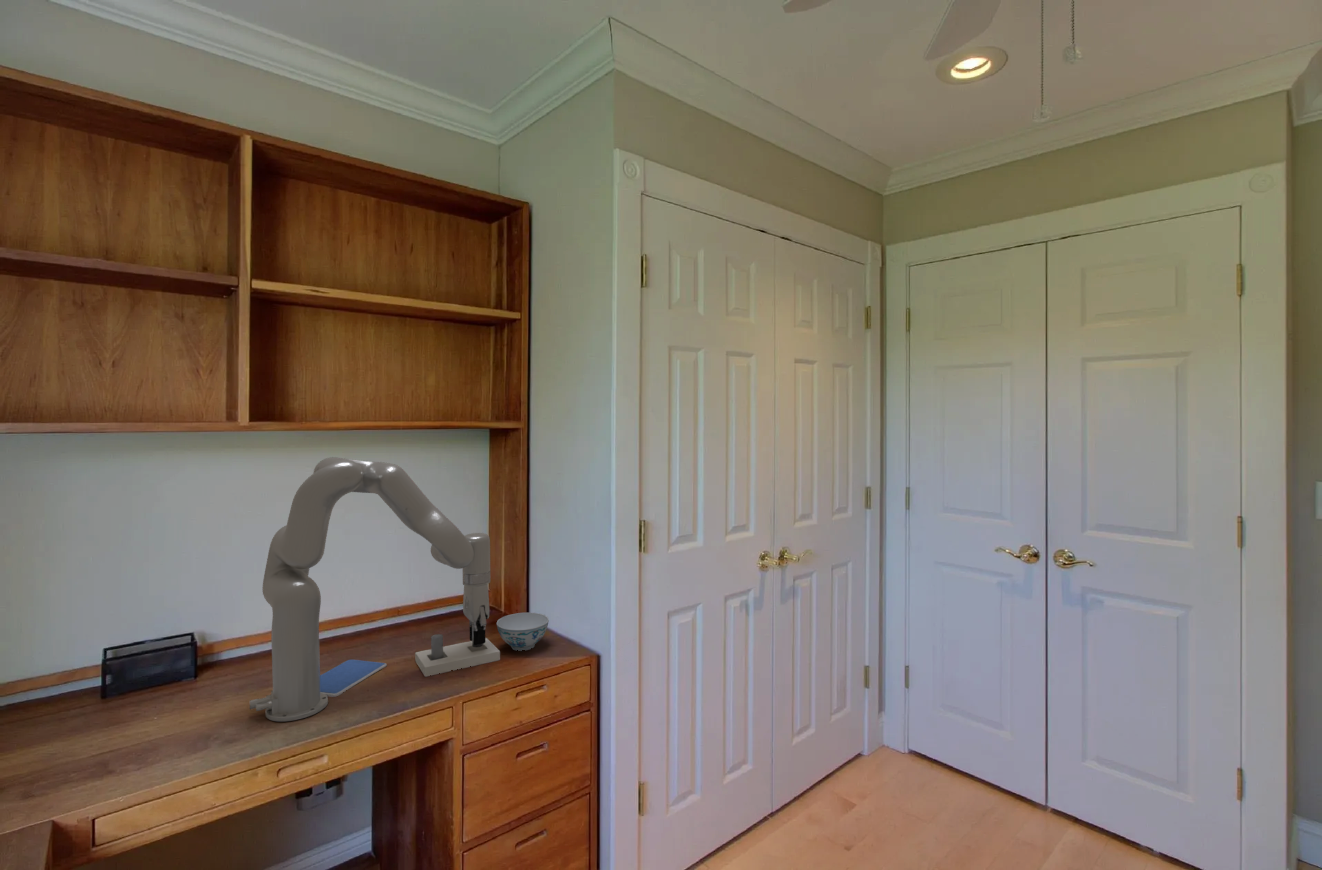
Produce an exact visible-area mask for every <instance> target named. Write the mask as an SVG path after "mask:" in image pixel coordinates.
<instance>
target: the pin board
mask: <svg viewBox="0 0 1322 870" xmlns="http://www.w3.org/2000/svg"><path fill="white" fill-rule="evenodd" d="M430 639H431V640H430V645H431V648H430V649H425V650H421V651H416V652H415V653H414V654H415V655H414V658H415V659H414V661H415V663H416V664H417V665H418V667H419V669H420V671H421V672H422V674H423V676H424V677H425V678H426V677H431V676H435V675H439V673H440V674H443V673H448V672H449V673H450V672H452V671H451V670H453V671H457V669H458V670H461V668H462V669H466V668H471V667H475V666H480V665H483V664H488V663H489V664H490V663H493V662H497V661H500V660H501V651H500V649H498V648H497V647H496V645H494V643H492V642H491V641H490V640H489V638H487V637H485V643H483V646H481V647H473V646H472V641H470V640H469V641H464V642H459V643H455V644H450V645H445V646H444V635H443V634H441V633H440V634H438V633H437V634H434V635H431V637H430ZM470 666H471V667H470ZM430 675H431V676H430Z"/></svg>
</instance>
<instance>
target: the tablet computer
mask: <svg viewBox="0 0 1322 870" xmlns="http://www.w3.org/2000/svg"><path fill="white" fill-rule="evenodd" d="M387 666H388V665H387V663H385V662H379V661H369V660H360V659H347V660H346V661H343V662H342V663H340V664H339V665H336V666H334V667H333V668H331V669H329V670H327V671H326V672H323V673H322V674H320V693H323V694H325V695H326V696H327V697H331V698H335V697H338V696H340V695H342V694H344V693H345V692H347V691H348V690H350V689H351V688H353V687H354V686H356V685H358V684H359V683H361V682H362V681H364V680H365V679H367V678H369V677H371V676H372V675H374V674H375V673H377V672H379V671H380V670H382V669H384V668H386V667H387ZM346 690H347V691H346ZM343 692H344V693H343Z"/></svg>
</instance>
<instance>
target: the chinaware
mask: <svg viewBox="0 0 1322 870" xmlns="http://www.w3.org/2000/svg"><path fill="white" fill-rule="evenodd" d="M496 621H497V622H496V627H497V631H498V634H499V636H500V638H501V639H502V640H503V642H505V643H506V644H508V645H509V646H510V647H511V649H512V650H514V651H517V650H518V652H519V651H520V652H523V651H522V650H525V651H529V650H531V648H532V649H533V648H535V646H536V645H535V644H537V643H538V642H539V641H541V640H542V638H543V637H544V636H545V634H546V632H547V629H548V626H549V621H550V620H549V617H548V616H547V615H545V614H543V613H537V612H518V613H517V612H516V613H513V614H508V615H504V616H502V617H501V618H499V619H498V620H496Z"/></svg>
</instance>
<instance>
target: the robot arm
mask: <svg viewBox="0 0 1322 870" xmlns="http://www.w3.org/2000/svg"><path fill="white" fill-rule="evenodd" d="M350 493H362V494H363V493H364V494H375V495H378V496H379V497H380V498H381V499H382V500H383V502H384V503H385V504H386V505H387V506H388V507H389V509H390V510H392V512H393V513H394V514H395V515H396V517H398V519H399V520H400V521H401V522H402V523H403V524H404V525H405V526H406V527H407V528H408V529H410V531H412V532H414V533H416V534H417V535H419V536H421V537H422V538H424V539H425V540H426V541H428V542H429V543H430V544H431V546H430V554H431V556H432V558H433V559H434V560H435V561H437V562H438V563H441V564H443V565H446V566H448V567H450V568H453V569H456V570H457V569H458V570H459V569H462V586H463V598H462V599H463V601H462V602H463V603H462V604H463V605H462V611H463V612H462V613H463V615H464V616H465V617H466V619H468V621H469V641H472V622H474V628H475V631H473V639H474V645H478V644H483V643H485V638H486V626H487V620H488V619H489V617H490V598H489V593H490V592H489V584H490V583H491V541H490V540H491V539H490V536H489V535H488V534H487V533H484V532H473V533H467V534H465V535H464V533H463V532H462V531H461V530H460V529H459V528H458V526H456V525H455V524H454V522H452V520H450V519H449V518H448V517H447V516H446V515H445V514H444V513H443V512H442V511H441V509H439V508H438V507H436V505H434V504H433V502H432V501H430V499H429V498H428V497H427V496H426V494H424V492H423V491H422V490H421V488H420V487H418V485H417V484H416V482H414V480H413V479H412V478H411V477H410V475H409V474H408V473H407V472H406V471H405V470H404V469H403V468H402V467H401V466H400V465H398V464H395V463H390V462H382V461H371V460H369V461H368V460H362V459H361V460H360V459H353V458H346V457H345V458H343V457H336V456H335V457H334V456H330V457H327V458H323V459H322V460H320V461H319V462H318V463H316V465H315V467H314V469H313V473H312V474H311V475H310V476H309V477H308V478H306V479H305V480H304V481H303V482H302V484H300V486H299V487H298V488H297V490H296V492H295V494H294V497H293V499H292V503H291V505H290V511H289V514H288V517H287V522H286V525H284V526H282V527H280V529H278V530H277V531H276V532H275V534H274V535H273V537H272V539H271V542H270V545H269V548H268V554H267V558H266V564H265V568H264V575H263V580H262V595H263V597H264V599H265V601H266V603H268V605H269V606H270V607H271V609H272V619H271V620H272V622H271V665H272V667H271V668H272V690H270V694H268V695H265V697H262V698H256V699H249V710H252V709H255V711H256V712H259V711H263V710H265V718H267V719H268V720H270V721H273V722H291V721H297V720H302V719H305V718H308V717H311V716H313V715H315V714H318V713H319V712H321V711H323V710H324V709H325V708H326V707H327V706H328V703H329V698H328V697H329V696H326V695H325V694H323V693H320V675H321V667H320V665H321V664H320V663H321V659H320V657H321V655H320V613H321V612H320V611H321V606H322V605H321V604H322V597H321V590H320V588H319V585H318V584H317V582H315V580H313V579H312V578H311V577H310V576H309V573H310V568H313V567H314V566H316V565H317V564H319V563H320V561H321V560H322V558H323V556H324V554H325V549H326V548H325V547H326V542H327V536H328V530H329V525H330V524H329V523H330V519H331V517H332V512H333V509H334V507H335V505H336V503H337V502H338V501H339V500H340V499H341V498H342V497H344V496H345V495H347V494H350ZM478 617H480V619H478ZM477 622H480V623H478V625H477Z"/></svg>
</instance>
